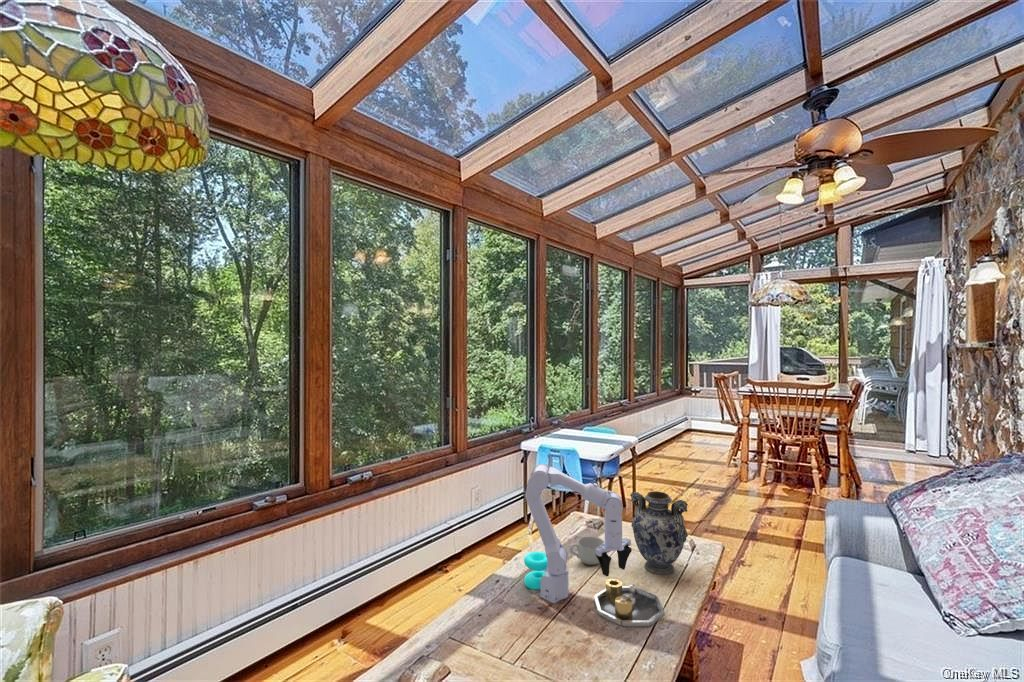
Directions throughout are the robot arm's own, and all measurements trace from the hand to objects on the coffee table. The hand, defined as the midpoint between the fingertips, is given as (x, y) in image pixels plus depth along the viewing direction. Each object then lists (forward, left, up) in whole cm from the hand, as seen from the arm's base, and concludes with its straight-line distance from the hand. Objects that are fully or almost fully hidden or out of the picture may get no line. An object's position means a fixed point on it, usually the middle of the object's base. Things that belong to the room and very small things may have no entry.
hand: (613, 571), depth 156 cm
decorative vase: (+31, +1, -10) cm, 33 cm away
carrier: (-1, -6, -10) cm, 12 cm away
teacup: (+16, +23, -10) cm, 30 cm away
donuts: (-10, +25, -10) cm, 29 cm away
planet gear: (0, 0, -9) cm, 9 cm away
